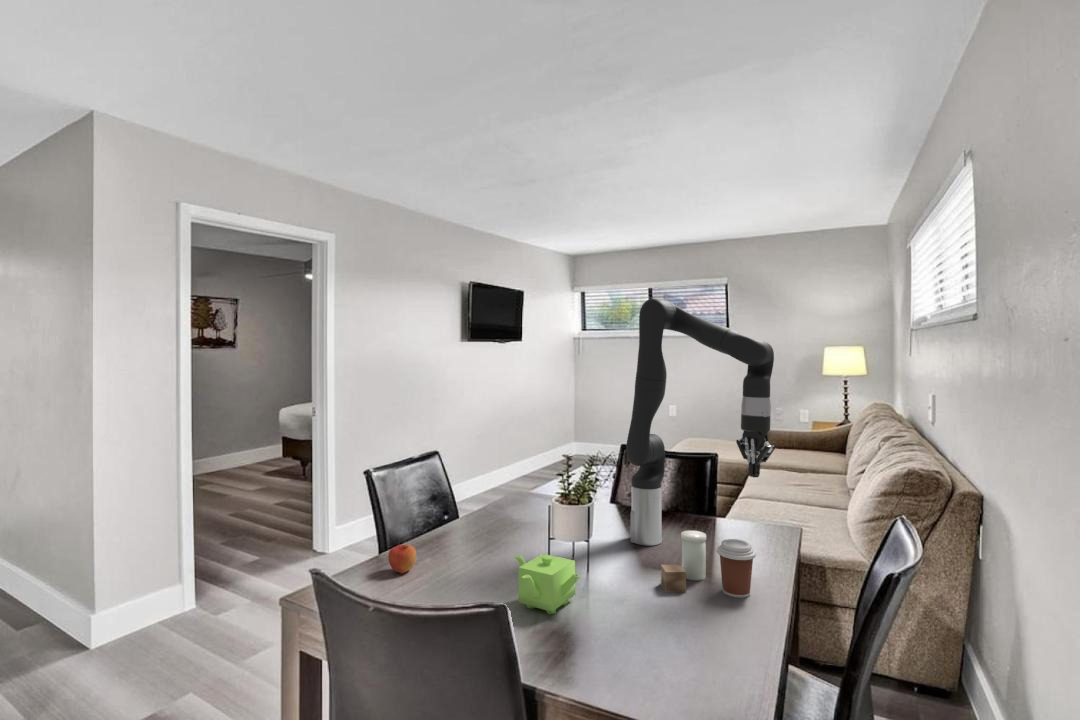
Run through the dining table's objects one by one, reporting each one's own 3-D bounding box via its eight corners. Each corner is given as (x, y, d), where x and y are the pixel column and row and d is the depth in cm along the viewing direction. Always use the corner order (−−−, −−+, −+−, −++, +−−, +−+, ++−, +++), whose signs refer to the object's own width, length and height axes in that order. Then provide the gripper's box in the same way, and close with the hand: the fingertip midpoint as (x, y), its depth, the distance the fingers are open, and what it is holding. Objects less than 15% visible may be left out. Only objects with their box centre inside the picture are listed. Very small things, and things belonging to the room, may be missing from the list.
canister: (681, 579, 147) (681, 537, 147) (681, 570, 154) (681, 529, 153) (706, 581, 146) (706, 539, 146) (706, 572, 152) (705, 531, 152)
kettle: (522, 622, 124) (522, 571, 124) (509, 596, 138) (508, 550, 138) (587, 614, 128) (587, 564, 128) (568, 589, 142) (567, 544, 142)
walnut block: (665, 592, 140) (665, 572, 140) (661, 584, 145) (661, 564, 145) (686, 592, 140) (686, 572, 140) (680, 584, 145) (680, 564, 145)
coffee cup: (723, 581, 146) (723, 535, 146) (760, 590, 140) (760, 541, 140) (711, 594, 138) (711, 545, 138) (750, 603, 133) (750, 552, 133)
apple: (422, 569, 155) (421, 540, 155) (404, 579, 148) (404, 548, 148) (400, 565, 158) (400, 536, 158) (382, 574, 152) (382, 544, 151)
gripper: (728, 411, 160) (726, 472, 160) (761, 416, 148) (759, 482, 148) (750, 411, 163) (748, 471, 163) (784, 415, 150) (782, 481, 150)
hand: (754, 476), depth 155 cm, fingers closed
